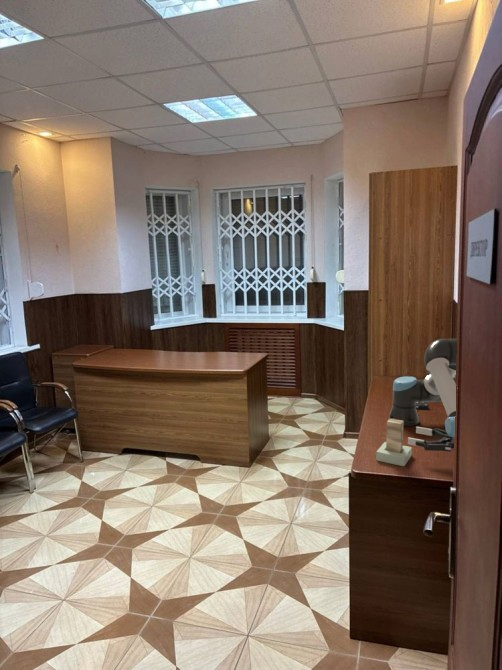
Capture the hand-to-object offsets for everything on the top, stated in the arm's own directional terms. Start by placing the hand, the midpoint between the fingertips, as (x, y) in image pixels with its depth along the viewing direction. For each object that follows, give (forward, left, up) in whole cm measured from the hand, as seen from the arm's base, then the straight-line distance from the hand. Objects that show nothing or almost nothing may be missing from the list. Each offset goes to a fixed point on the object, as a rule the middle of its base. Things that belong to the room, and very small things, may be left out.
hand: (412, 435), depth 199 cm
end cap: (0, -7, -12) cm, 14 cm away
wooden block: (0, -7, -11) cm, 13 cm away
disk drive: (-76, -16, -13) cm, 79 cm away
